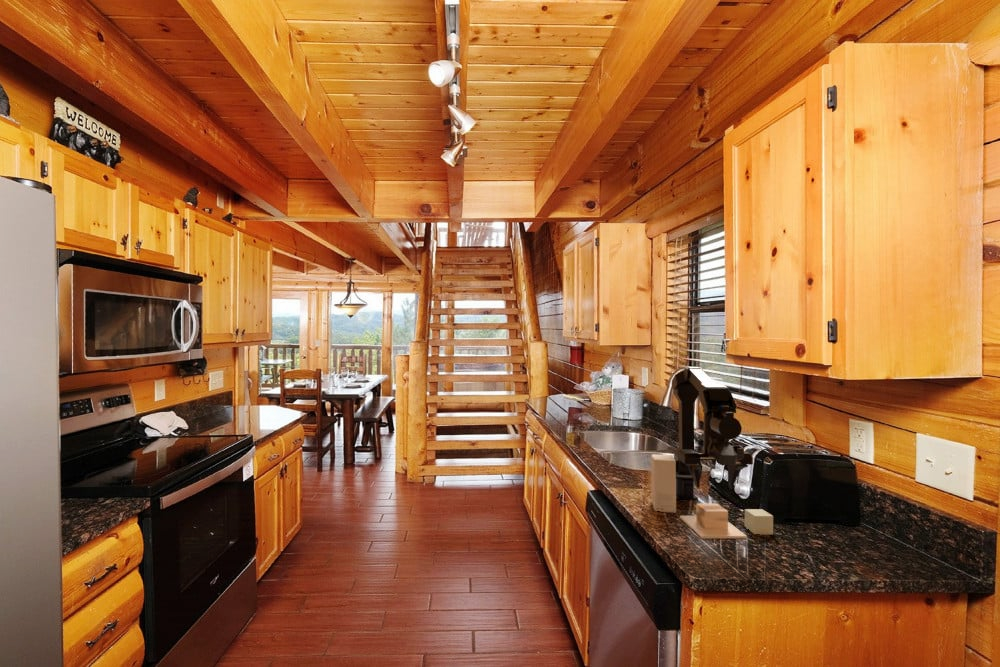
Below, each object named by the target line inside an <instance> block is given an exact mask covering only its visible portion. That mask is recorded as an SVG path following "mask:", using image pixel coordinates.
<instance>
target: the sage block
mask: <svg viewBox="0 0 1000 667" xmlns="http://www.w3.org/2000/svg"><path fill="white" fill-rule="evenodd" d="M743 525H744V526H745V527H746V528H745V527H744V528H745V529H746V530H748V529H749V530H750V531H749V530H748V531H749V532H750V533H752V532H753V533H754V534H753V533H752V534H753V535H755V534H760V535H773V534H774V516H773V515H772V514H771V513H769V512H767V511H766V510H764V509H762V508H759V509H757V508H755V509H754V508H753V509H752V508H748V509H747V508H746V509H745V508H744V524H743Z"/></svg>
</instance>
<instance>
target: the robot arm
mask: <svg viewBox="0 0 1000 667" xmlns="http://www.w3.org/2000/svg"><path fill="white" fill-rule="evenodd" d="M671 389H672V390H673V393H672V394H673V395H674V397H675V398H676V401H677V402H678V448H677V449H676V451H675V452H674V454H673V458H674V459H675V461H676V499H678V500H699V497H698V496H697V495H696V494H695V487H696V489H700V484H701V483H700V481H701V478H702V472H703V465H702V461H716V463H717V464H718V465H720V466H726V465H727V482H728V488H729V489H733V488H734V485H735V482H736V480H737V478H738V476H739V474H740V472H741V471H743V469H744V468H748V467H749V465H753V464H754V458H753V455H752V454H751V453H750V452H748V451H745V449H744V447H743V445H731V444H730V440H735V439H736V438H738V437H739V436H740V435H741V433H742V424H741V422H740V421H739V420H738V418H736V417H735V414H737V408H738V407H737V404H736V401H735V398H734V396H733V394H732V392H731V390H730V389H729V387H728V386H727V385H725V384H722V383H718V382H715V381H714V380H712V379H711V377H710V376H708V375H707V374H706V373H705V371H704V369H703V367H701V366H687V367H685V368H684V369H683V370H682V371H680V372H678V373H675V375H673V378H672V380H671ZM698 399H699V402H700V404H701V407H702V412H703V432H701V437H702V438H703V445H702V446H703V447H701V448H700V449H701V450H700V451H701V452H697V450H696V449H695V448H696V447H695V402H696V401H697V400H698Z"/></svg>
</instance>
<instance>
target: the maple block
mask: <svg viewBox="0 0 1000 667" xmlns="http://www.w3.org/2000/svg"><path fill="white" fill-rule="evenodd" d="M695 505H696V511H695V516H696V521H697V522H698V523H699V524H700V525H701V526H702V527H703V528H704V529H706V530H728V522H729V511H728V510H727V509H726V508H724V506H721V505H720V504H719V503H711V502H710V503H700V502H699V503H696V504H695Z"/></svg>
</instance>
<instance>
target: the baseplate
mask: <svg viewBox="0 0 1000 667" xmlns="http://www.w3.org/2000/svg"><path fill="white" fill-rule="evenodd" d="M679 518H680V520H682V521H683V522H684V523H685V524H686V525H687V527H689V528H690V529H691V530H692V529H693V530H694V531H695V532H696V533H695V532H694V531H693V530H692V531H693V532H694V533H695V534H697V535H698V537H699V538H701V539H747V538H748V536H747V535H746V534H745V533H743V532H742V531H741V530H740V529H738V528H737V527H736V526H735V525H733V524H732V523H731V522H729V521H728V530H706V529H704V528H703V527H702V526H701V525H700V524H699V523H698V522H697V521H696V515H679Z"/></svg>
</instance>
